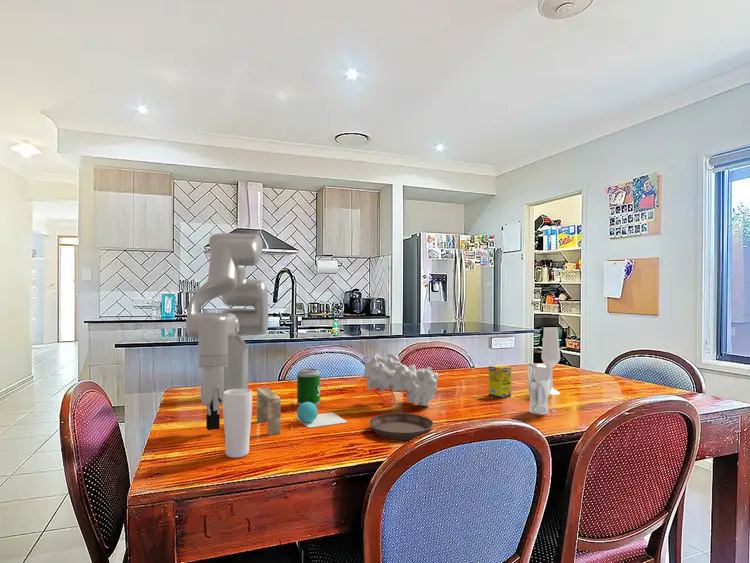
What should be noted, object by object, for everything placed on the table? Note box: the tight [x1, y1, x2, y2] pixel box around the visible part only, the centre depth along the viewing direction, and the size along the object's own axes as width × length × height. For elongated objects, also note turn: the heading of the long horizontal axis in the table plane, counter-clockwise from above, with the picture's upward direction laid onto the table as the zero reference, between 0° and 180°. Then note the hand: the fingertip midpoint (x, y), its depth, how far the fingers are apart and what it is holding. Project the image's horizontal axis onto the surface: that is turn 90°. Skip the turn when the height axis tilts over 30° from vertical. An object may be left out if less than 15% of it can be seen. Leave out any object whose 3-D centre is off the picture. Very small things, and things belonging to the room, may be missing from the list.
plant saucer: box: [368, 412, 434, 441], centre depth 133 cm, size 18×18×3 cm
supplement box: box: [488, 364, 512, 399], centre depth 176 cm, size 6×6×11 cm
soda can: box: [296, 368, 321, 407], centre depth 161 cm, size 8×8×12 cm
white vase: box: [527, 363, 551, 416], centre depth 153 cm, size 7×7×15 cm
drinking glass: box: [222, 389, 253, 459], centre depth 115 cm, size 7×7×15 cm
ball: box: [296, 402, 319, 423], centre depth 142 cm, size 6×6×6 cm
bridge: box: [256, 386, 282, 436], centre depth 137 cm, size 3×15×10 cm, turn 26°
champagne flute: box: [541, 327, 561, 396], centre depth 181 cm, size 7×7×24 cm
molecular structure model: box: [362, 352, 439, 408], centre depth 161 cm, size 20×18×25 cm
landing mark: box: [295, 412, 349, 429], centre depth 144 cm, size 12×12×1 cm
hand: (212, 428), depth 130 cm, fingers closed
